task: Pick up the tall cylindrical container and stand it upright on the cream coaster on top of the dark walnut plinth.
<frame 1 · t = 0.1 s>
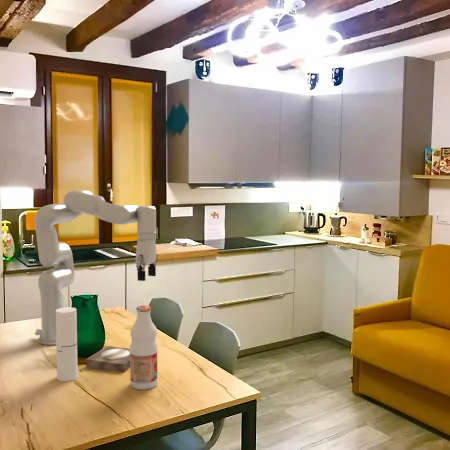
hand: (146, 278, 215), 31 cm above the table, tool pointing down, fingers open, 9 cm apart
cylindrical container: (67, 377, 192), on the table
fruit juice: (143, 385, 186), on the table
walnut plinth: (115, 362, 207), on the table
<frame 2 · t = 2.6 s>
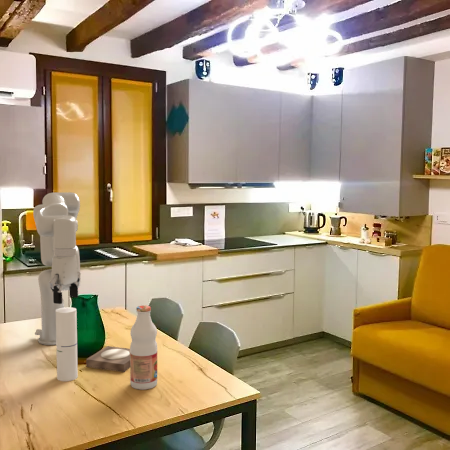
hand: (66, 300, 188), 29 cm above the table, tool pointing down, fingers open, 9 cm apart
nothing on the table moved.
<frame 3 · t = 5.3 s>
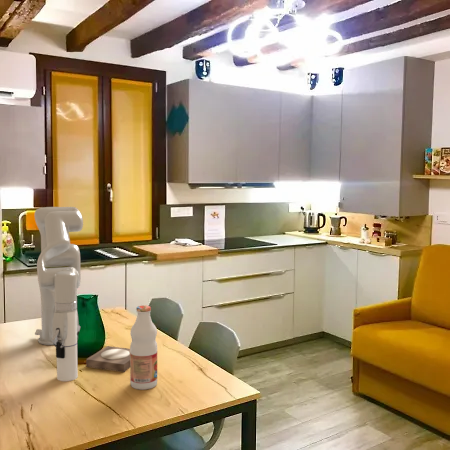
hand: (66, 353, 191), 9 cm above the table, tool pointing down, fingers closed on cylindrical container, 7 cm apart
cylindrical container: (67, 377, 191), on the table, touching gripper
everything else where it was.
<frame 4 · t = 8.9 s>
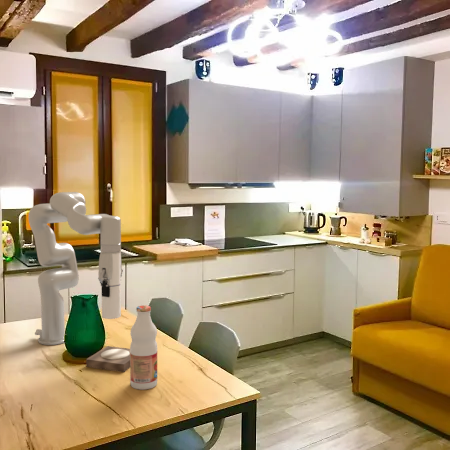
hand: (111, 293, 203), 28 cm above the table, tool pointing down, fingers closed on cylindrical container, 7 cm apart
cylindrical container: (111, 316, 204), point 19 cm above the table, touching gripper
everything else where it was.
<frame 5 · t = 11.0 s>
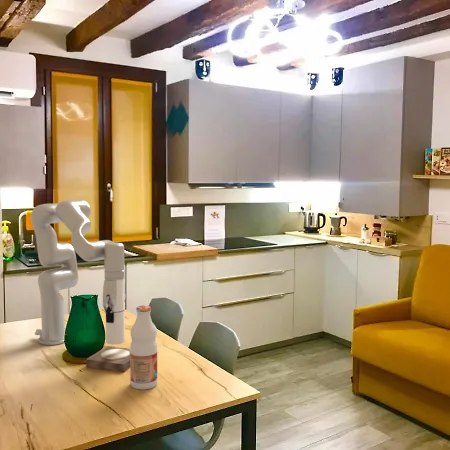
hand: (115, 319, 205), 17 cm above the table, tool pointing down, fingers closed on cylindrical container, 7 cm apart
cylindrical container: (115, 342, 206), point 8 cm above the table, touching gripper
everything else where it was.
when the fingers open (14 cm above the table, at t = 12.6 s): cylindrical container drops 2 cm, resting on walnut plinth.
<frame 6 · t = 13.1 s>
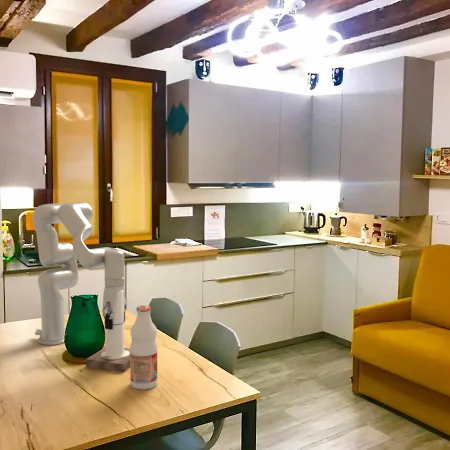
hand: (115, 325, 205), 15 cm above the table, tool pointing down, fingers open, 9 cm apart
cylindrical container: (114, 354, 207), point 3 cm above the table, touching walnut plinth
everything else where it was.
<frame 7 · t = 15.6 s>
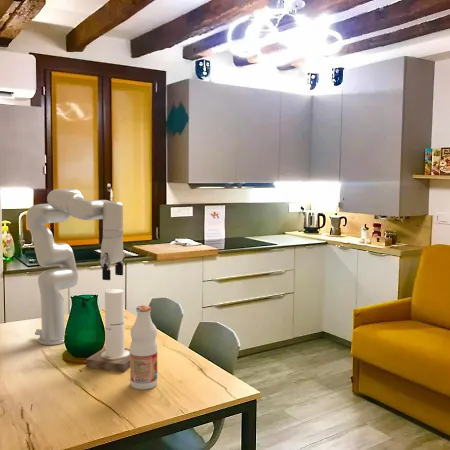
hand: (112, 277, 205), 33 cm above the table, tool pointing down, fingers open, 9 cm apart
nothing on the table moved.
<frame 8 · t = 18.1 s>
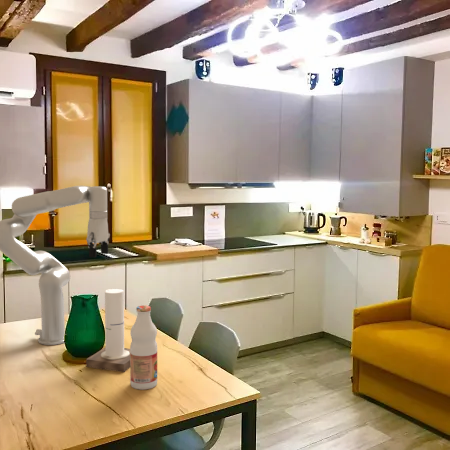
hand: (98, 255, 226), 38 cm above the table, tool pointing down, fingers open, 9 cm apart
nothing on the table moved.
at the end: cylindrical container inside the target area on the walnut plinth (0.2 cm from its centre), point 3.2 cm above the walnut plinth's base; cylindrical container tilted 0°; the gripper is holding nothing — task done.
